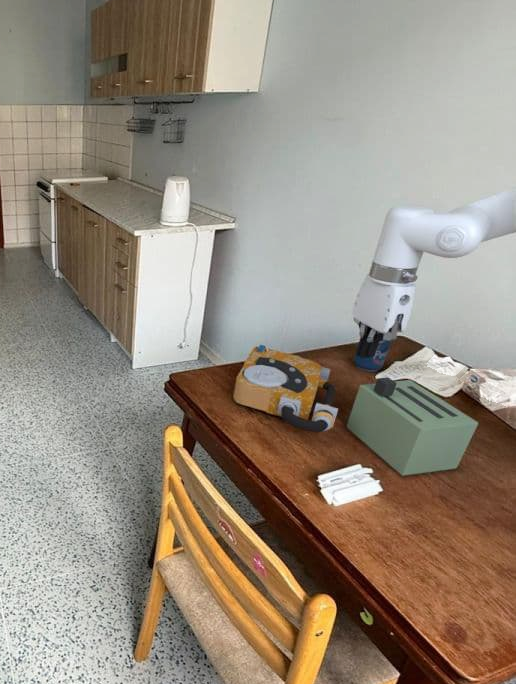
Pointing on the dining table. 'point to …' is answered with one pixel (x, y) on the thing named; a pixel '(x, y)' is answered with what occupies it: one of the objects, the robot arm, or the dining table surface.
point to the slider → (385, 386)
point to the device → (286, 388)
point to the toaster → (411, 428)
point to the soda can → (373, 358)
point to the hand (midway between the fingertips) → (364, 355)
